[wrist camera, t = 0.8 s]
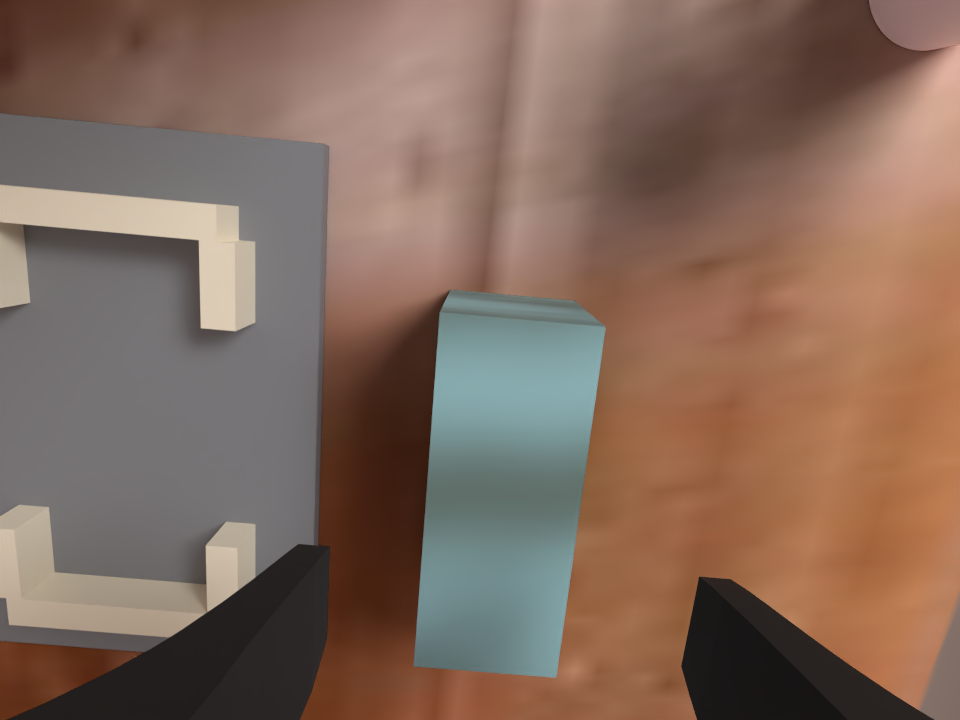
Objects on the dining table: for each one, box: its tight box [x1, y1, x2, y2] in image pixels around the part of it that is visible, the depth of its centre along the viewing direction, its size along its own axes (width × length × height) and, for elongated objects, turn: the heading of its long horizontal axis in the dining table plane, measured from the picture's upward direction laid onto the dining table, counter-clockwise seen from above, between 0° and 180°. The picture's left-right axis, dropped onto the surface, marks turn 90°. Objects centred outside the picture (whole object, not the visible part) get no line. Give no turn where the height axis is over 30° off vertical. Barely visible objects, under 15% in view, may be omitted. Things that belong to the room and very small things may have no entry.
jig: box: [0, 114, 329, 652], centre depth 18 cm, size 18×12×2 cm, turn 175°
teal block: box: [414, 290, 606, 678], centre depth 17 cm, size 10×4×5 cm, turn 175°
